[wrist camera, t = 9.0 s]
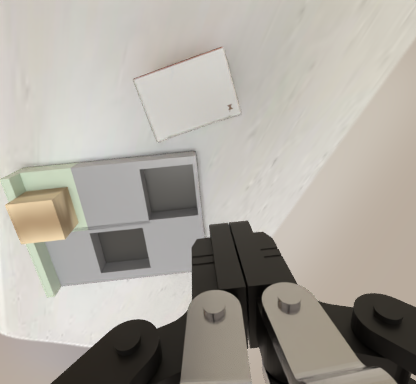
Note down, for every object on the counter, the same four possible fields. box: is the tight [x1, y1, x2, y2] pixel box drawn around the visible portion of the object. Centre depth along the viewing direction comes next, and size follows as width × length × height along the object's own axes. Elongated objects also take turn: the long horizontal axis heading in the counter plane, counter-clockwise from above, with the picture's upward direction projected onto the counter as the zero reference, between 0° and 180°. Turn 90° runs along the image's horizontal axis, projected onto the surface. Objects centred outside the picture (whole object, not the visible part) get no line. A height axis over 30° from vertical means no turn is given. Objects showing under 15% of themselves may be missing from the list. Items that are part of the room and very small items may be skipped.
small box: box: [133, 47, 241, 143], centre depth 27 cm, size 8×6×10 cm
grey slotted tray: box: [0, 151, 204, 298], centre depth 35 cm, size 17×22×4 cm
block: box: [5, 187, 79, 244], centre depth 31 cm, size 5×5×4 cm
